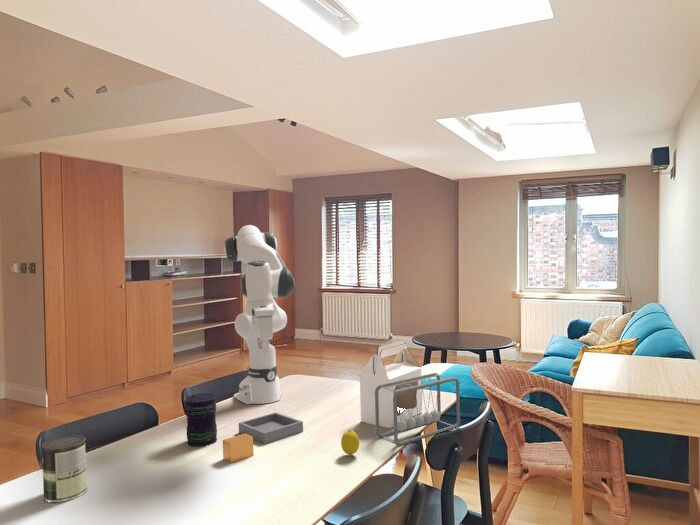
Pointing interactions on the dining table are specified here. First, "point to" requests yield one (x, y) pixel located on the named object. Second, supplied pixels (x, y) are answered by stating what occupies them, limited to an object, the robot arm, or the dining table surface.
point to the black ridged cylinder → (201, 420)
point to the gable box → (380, 375)
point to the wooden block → (238, 448)
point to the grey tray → (271, 427)
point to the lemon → (350, 442)
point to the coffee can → (64, 468)
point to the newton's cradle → (418, 419)
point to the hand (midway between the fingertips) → (263, 350)
